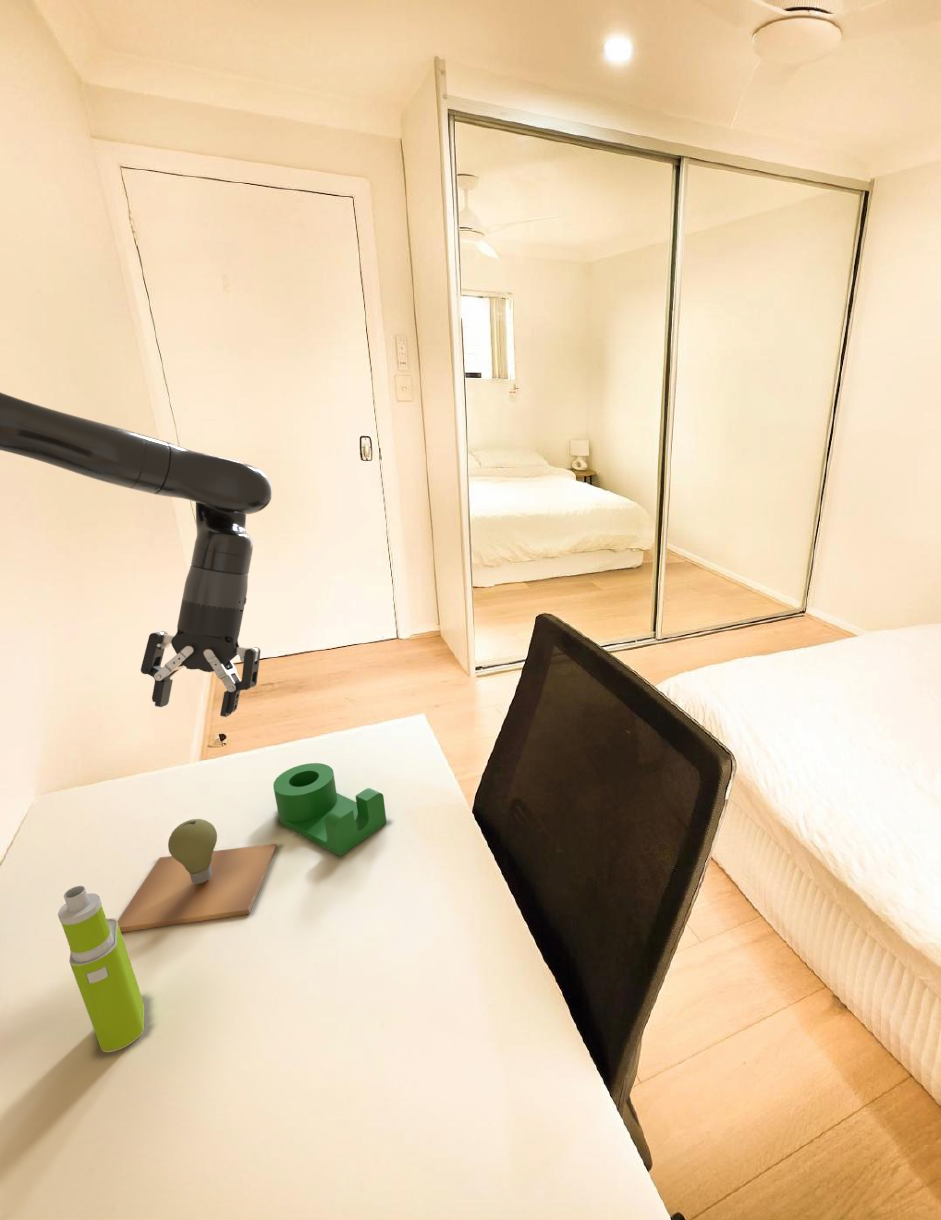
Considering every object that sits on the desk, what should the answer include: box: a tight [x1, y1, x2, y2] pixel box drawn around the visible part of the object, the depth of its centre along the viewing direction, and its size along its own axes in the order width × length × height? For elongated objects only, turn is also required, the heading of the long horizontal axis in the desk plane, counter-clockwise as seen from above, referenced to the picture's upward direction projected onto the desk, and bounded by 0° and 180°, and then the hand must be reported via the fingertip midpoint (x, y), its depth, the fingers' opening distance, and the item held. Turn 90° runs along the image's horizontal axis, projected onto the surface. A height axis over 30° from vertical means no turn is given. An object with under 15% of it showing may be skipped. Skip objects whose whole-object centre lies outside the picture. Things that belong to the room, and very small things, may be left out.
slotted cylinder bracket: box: [272, 762, 387, 857], centre depth 99 cm, size 18×9×6 cm, turn 61°
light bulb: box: [167, 818, 218, 884], centre depth 84 cm, size 6×6×10 cm
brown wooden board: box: [117, 843, 278, 933], centre depth 85 cm, size 16×13×1 cm
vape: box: [57, 885, 145, 1053], centre depth 63 cm, size 4×6×20 cm, turn 36°
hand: (194, 710), depth 86 cm, fingers open, 8 cm apart
